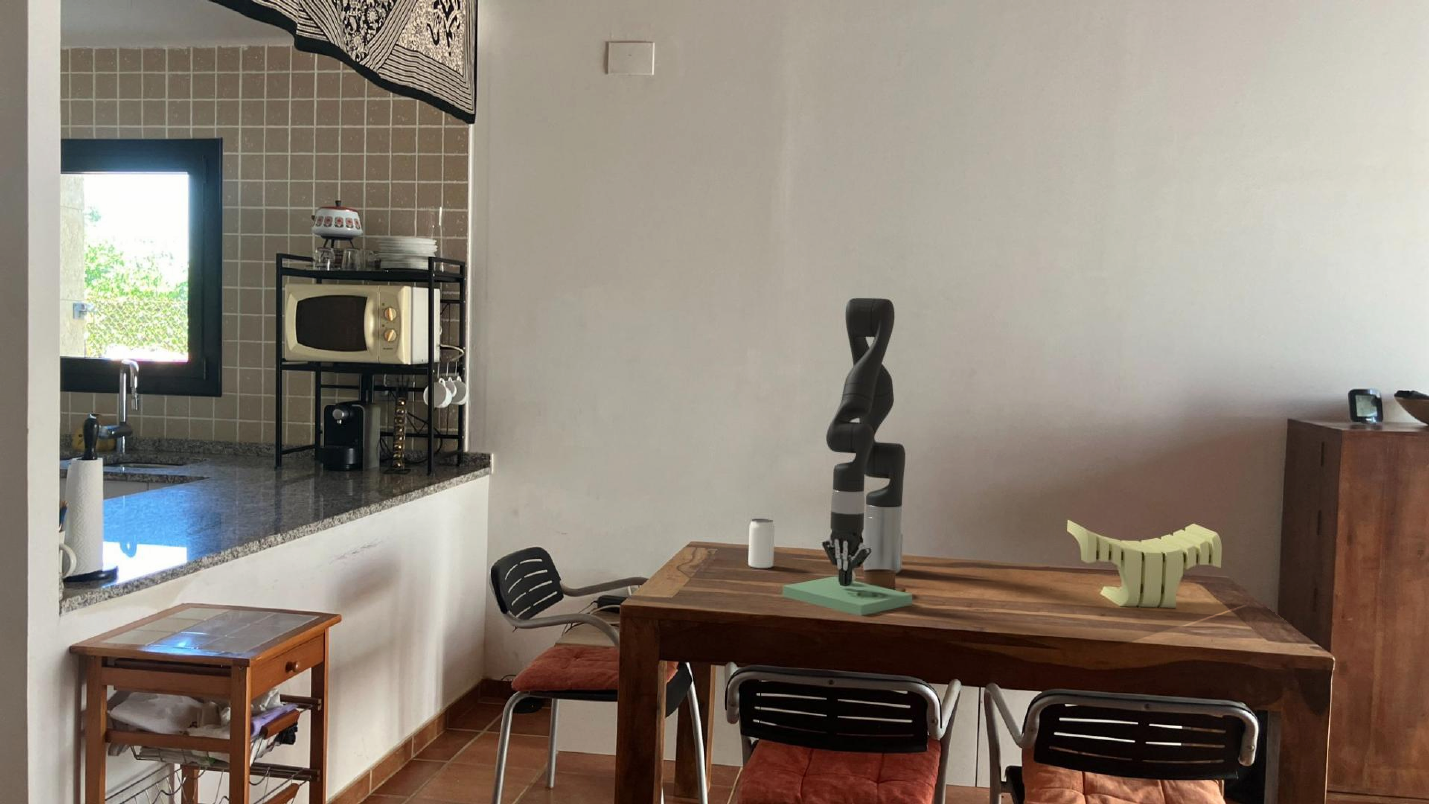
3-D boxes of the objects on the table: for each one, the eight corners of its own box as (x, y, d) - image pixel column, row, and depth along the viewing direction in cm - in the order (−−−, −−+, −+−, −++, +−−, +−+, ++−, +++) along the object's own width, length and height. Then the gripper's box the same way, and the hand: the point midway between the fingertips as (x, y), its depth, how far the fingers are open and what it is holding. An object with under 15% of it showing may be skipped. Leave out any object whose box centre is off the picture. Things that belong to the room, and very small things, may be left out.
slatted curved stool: (1085, 608, 253) (1088, 530, 252) (1064, 592, 269) (1067, 519, 268) (1218, 613, 252) (1222, 534, 251) (1189, 597, 268) (1193, 523, 267)
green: (782, 596, 255) (782, 585, 255) (833, 586, 267) (834, 576, 267) (860, 617, 238) (861, 605, 238) (912, 605, 250) (912, 594, 250)
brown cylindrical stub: (843, 597, 262) (843, 570, 262) (877, 592, 270) (877, 566, 270) (882, 602, 253) (881, 575, 253) (916, 597, 260) (916, 570, 261)
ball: (861, 575, 259) (851, 563, 260) (853, 582, 256) (844, 569, 257) (851, 582, 261) (842, 570, 262) (844, 588, 259) (835, 576, 259)
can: (771, 569, 285) (772, 522, 285) (746, 567, 287) (747, 521, 286) (774, 564, 292) (776, 519, 291) (750, 563, 293) (752, 517, 292)
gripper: (881, 512, 250) (878, 588, 251) (835, 504, 260) (832, 578, 261) (860, 515, 245) (857, 593, 246) (814, 507, 255) (811, 582, 256)
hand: (844, 585), depth 254 cm, fingers closed
